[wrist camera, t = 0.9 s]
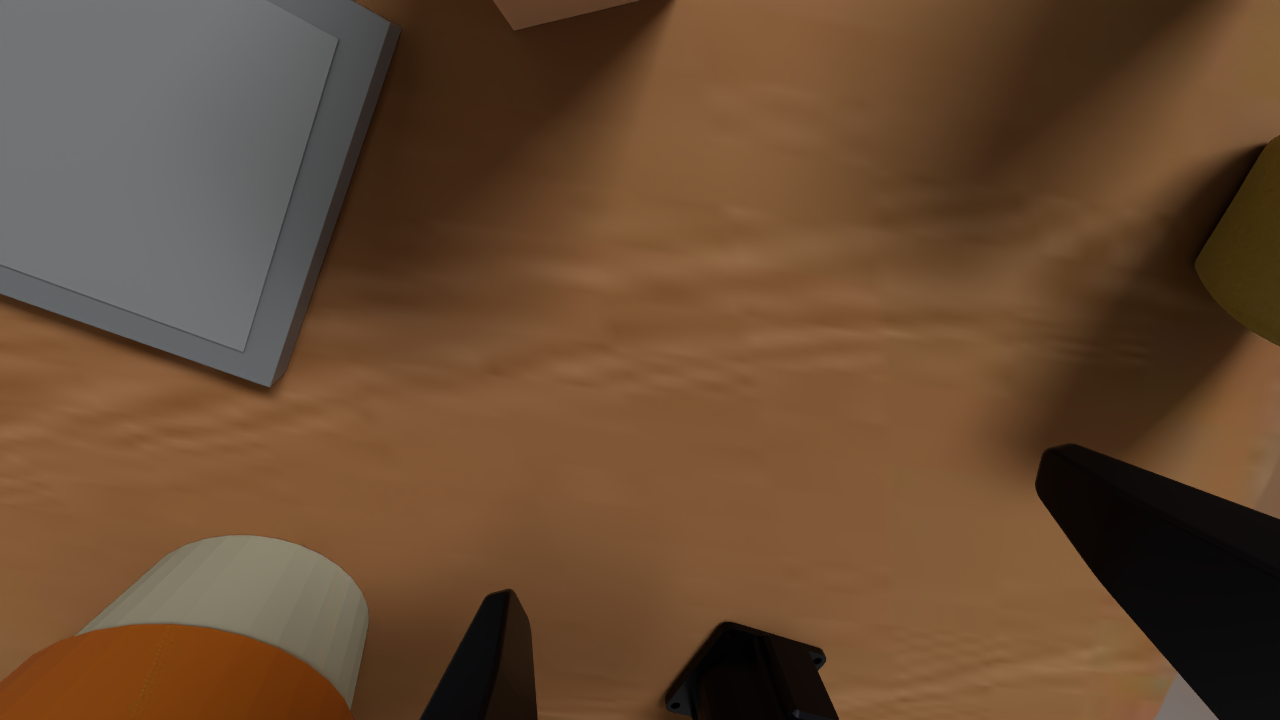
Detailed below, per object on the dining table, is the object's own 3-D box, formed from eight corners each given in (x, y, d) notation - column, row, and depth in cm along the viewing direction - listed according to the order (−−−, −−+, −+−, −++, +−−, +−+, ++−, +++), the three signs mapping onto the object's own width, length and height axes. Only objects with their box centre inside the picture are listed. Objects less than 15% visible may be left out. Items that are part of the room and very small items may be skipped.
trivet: (285, 371, 20) (268, 388, 18) (-159, 211, 16) (-216, 220, 15) (402, 27, 16) (389, 22, 15) (-147, -284, 12) (-222, -324, 11)
